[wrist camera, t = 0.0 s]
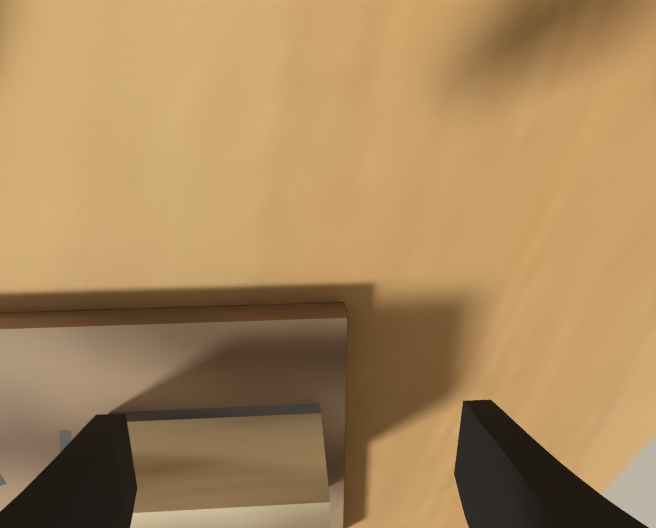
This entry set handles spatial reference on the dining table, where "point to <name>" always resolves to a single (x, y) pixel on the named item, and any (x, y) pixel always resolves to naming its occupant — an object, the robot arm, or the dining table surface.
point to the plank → (165, 374)
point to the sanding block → (230, 467)
